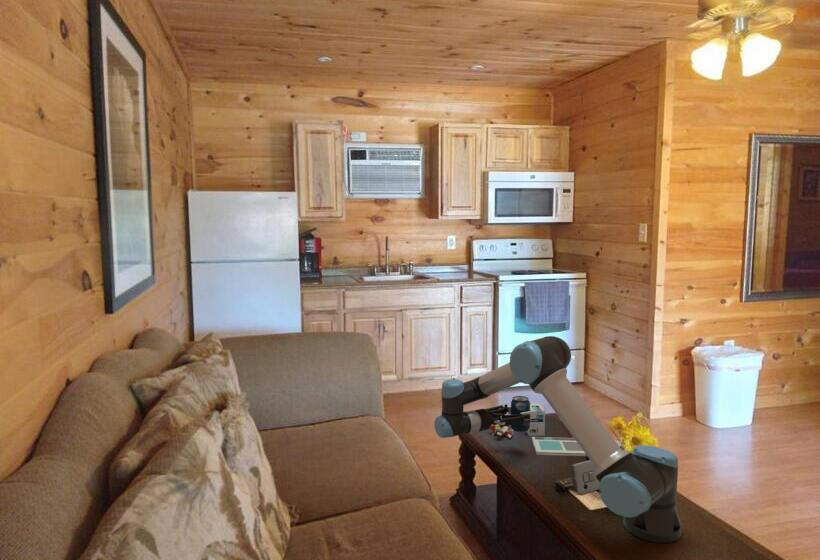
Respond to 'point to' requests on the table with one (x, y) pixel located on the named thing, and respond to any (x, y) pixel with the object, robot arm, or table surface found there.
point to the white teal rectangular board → (557, 446)
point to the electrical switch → (584, 477)
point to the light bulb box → (537, 420)
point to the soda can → (517, 407)
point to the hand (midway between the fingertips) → (529, 410)
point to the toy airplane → (501, 430)
